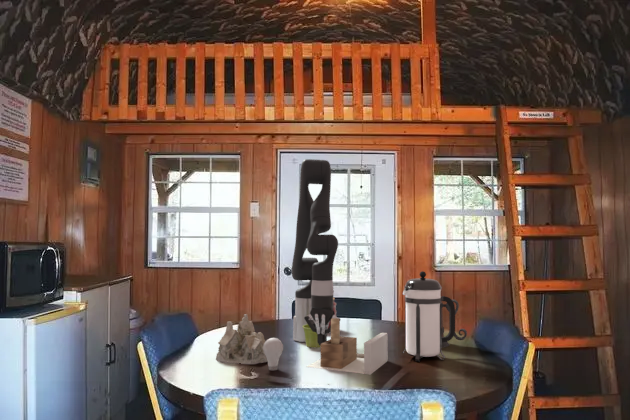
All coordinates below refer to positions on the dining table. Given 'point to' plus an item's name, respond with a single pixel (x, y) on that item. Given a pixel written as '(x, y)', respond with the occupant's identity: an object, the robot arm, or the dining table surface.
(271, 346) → the lightbulb
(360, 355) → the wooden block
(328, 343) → the wooden square-hole block
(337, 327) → the dowel
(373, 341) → the l-shaped bookend
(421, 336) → the coffee press
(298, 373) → the dining table surface
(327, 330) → the robot arm
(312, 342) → the plant pot
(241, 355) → the ceramic cottage
